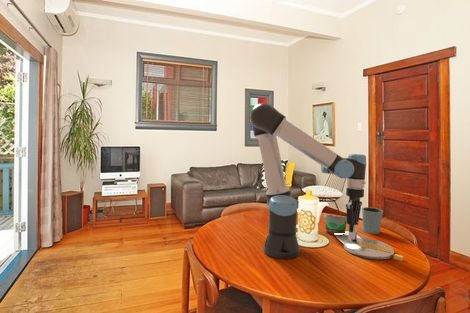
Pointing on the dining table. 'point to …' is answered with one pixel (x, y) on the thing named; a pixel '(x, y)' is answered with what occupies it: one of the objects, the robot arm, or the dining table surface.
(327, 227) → the food container
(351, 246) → the grey plate
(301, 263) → the dining table surface
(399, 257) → the index pointer
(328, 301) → the dining table surface
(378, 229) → the grey cup
